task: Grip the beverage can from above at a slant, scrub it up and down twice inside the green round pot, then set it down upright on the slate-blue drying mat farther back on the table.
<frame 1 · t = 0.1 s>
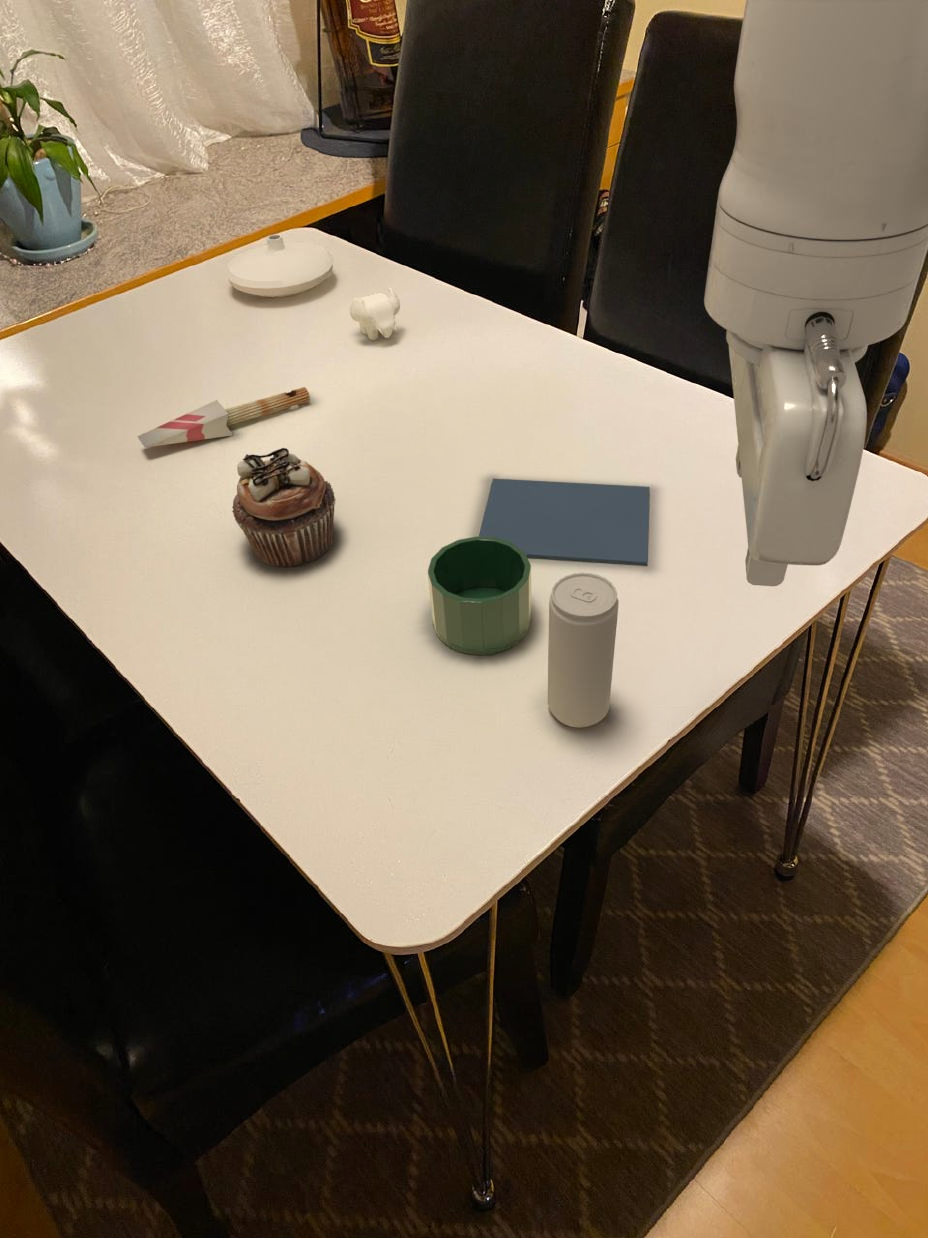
hand: (756, 521, 49), 23 cm above the table, tool pointing down, fingers open, 8 cm apart
beverage can: (577, 709, 70), on the table
drying mat: (565, 520, 88), on the table
vase: (283, 286, 133), on the table
cupcake: (293, 543, 88), on the table
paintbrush: (230, 428, 104), on the table
green round pot: (481, 620, 78), on the table
elephant figurine: (378, 336, 119), on the table
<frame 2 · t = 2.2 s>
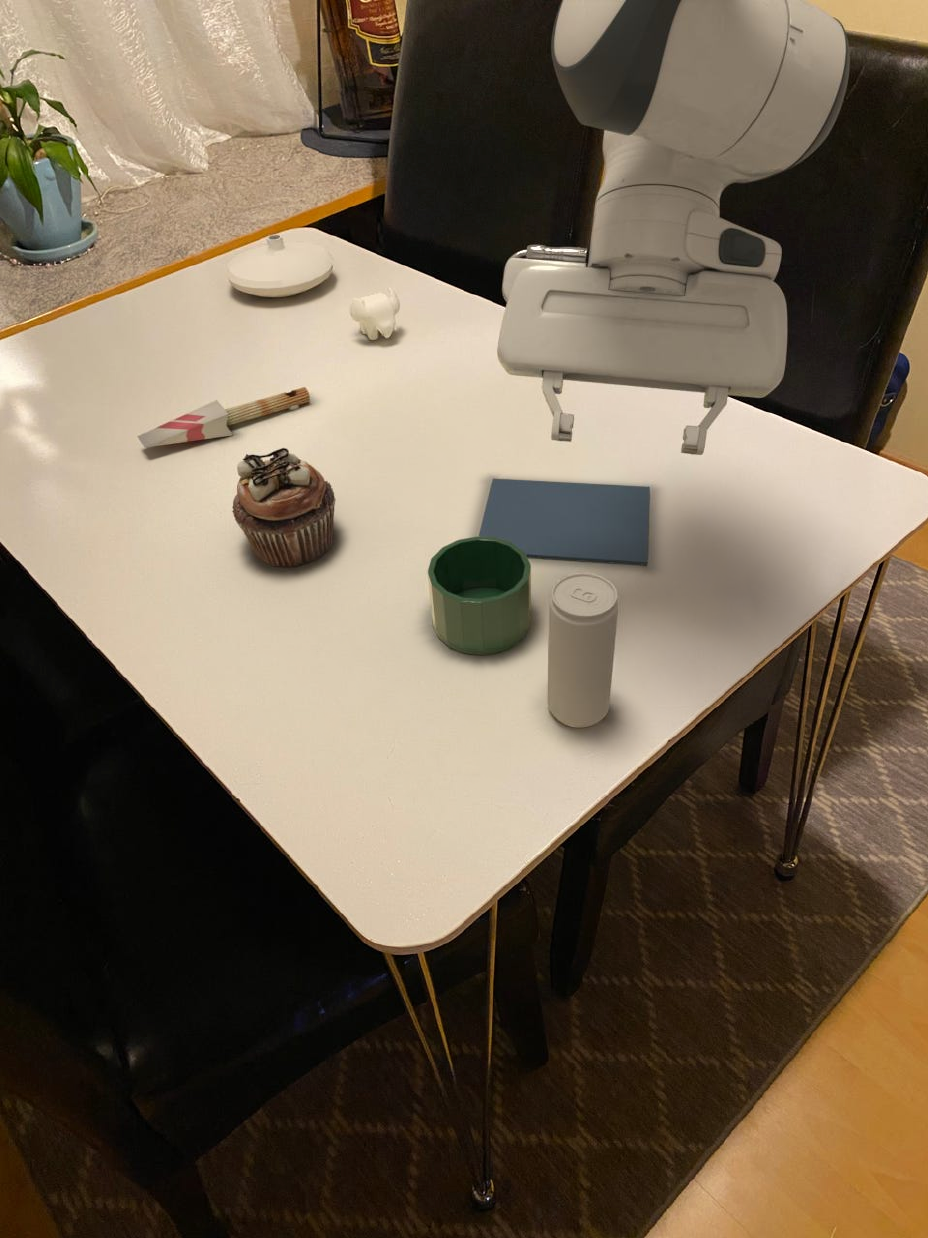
hand: (626, 446, 65), 18 cm above the table, tool tilted 40°, fingers open, 8 cm apart
nothing on the table moved.
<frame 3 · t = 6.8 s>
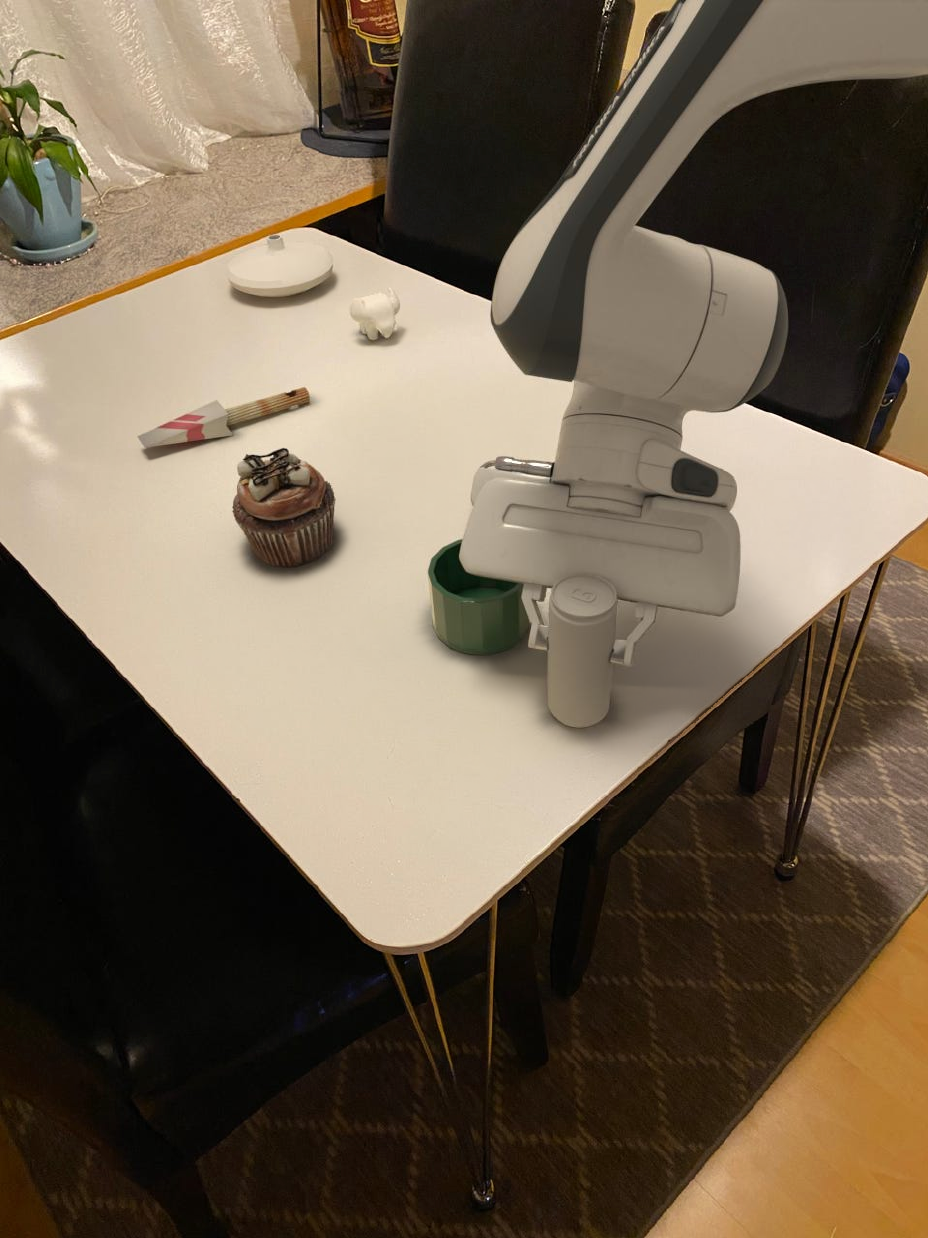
hand: (579, 657, 66), 6 cm above the table, tool tilted 45°, fingers closed on beverage can, 5 cm apart
beverage can: (577, 709, 70), on the table, touching gripper
everything else where it was.
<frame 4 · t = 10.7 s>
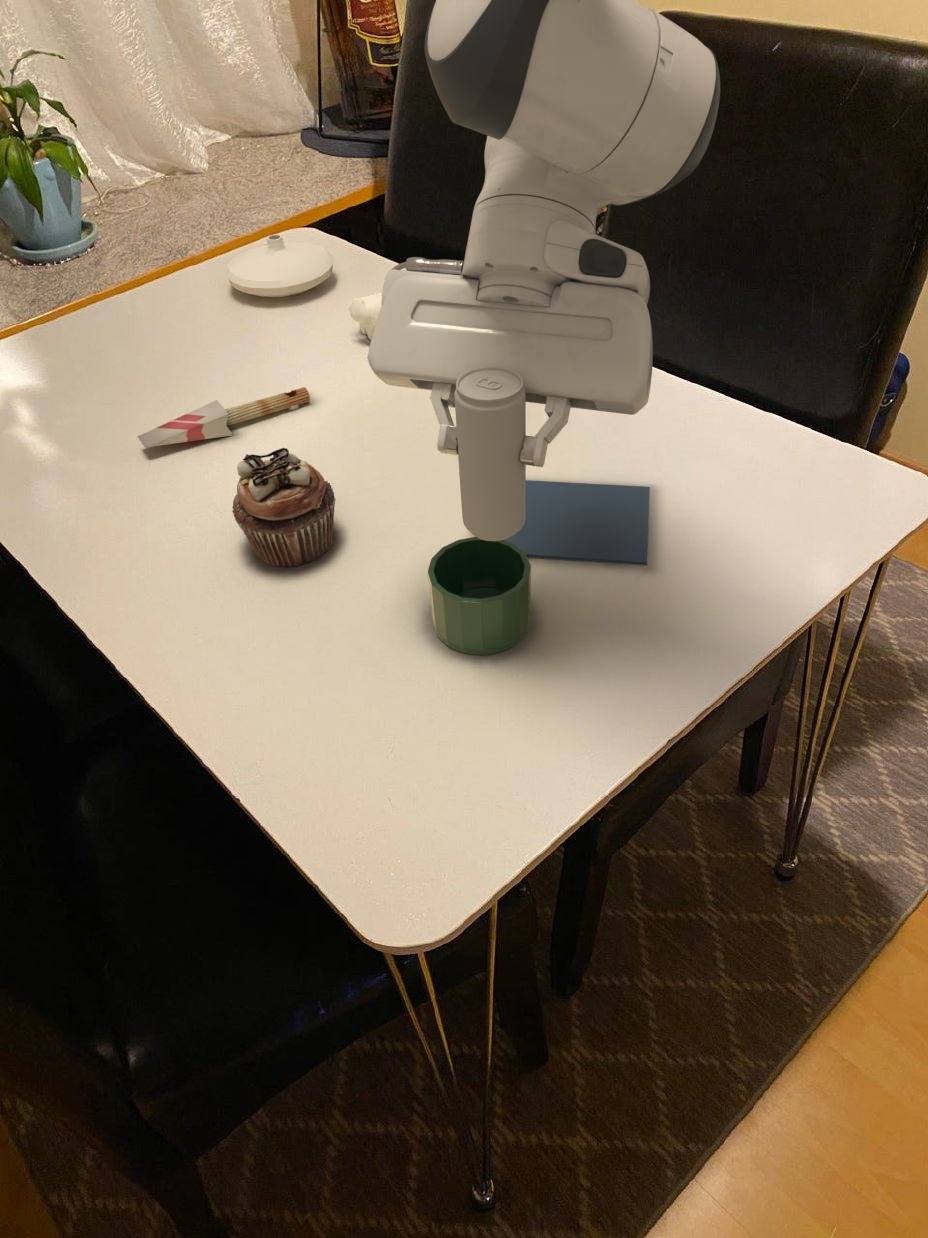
hand: (490, 458, 64), 18 cm above the table, tool tilted 45°, fingers closed on beverage can, 5 cm apart
beverage can: (494, 526, 69), point 12 cm above the table, touching gripper
everything else where it was.
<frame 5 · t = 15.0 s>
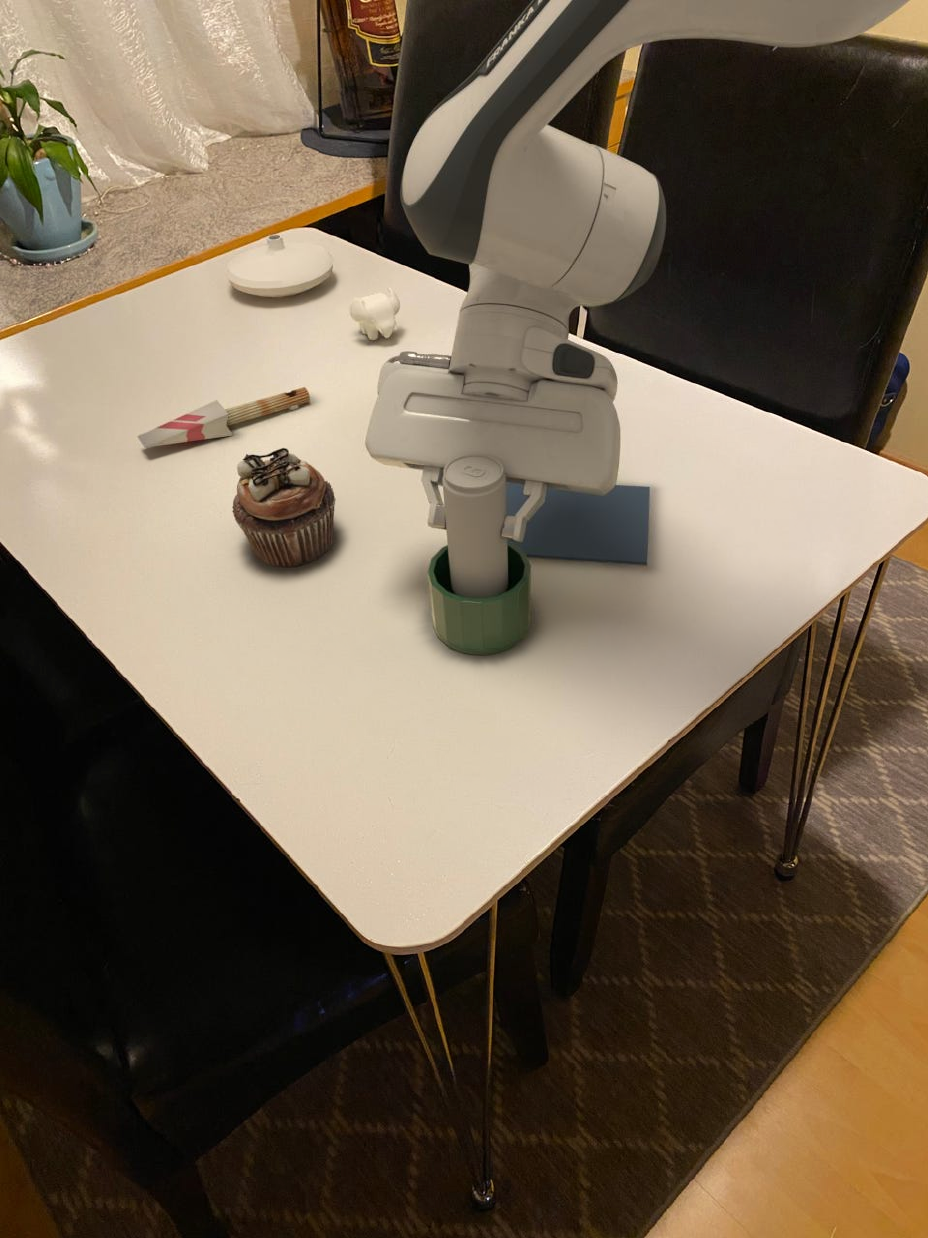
hand: (475, 534, 71), 10 cm above the table, tool tilted 45°, fingers closed on beverage can, 5 cm apart
beverage can: (479, 591, 76), point 3 cm above the table, touching gripper
everything else where it was.
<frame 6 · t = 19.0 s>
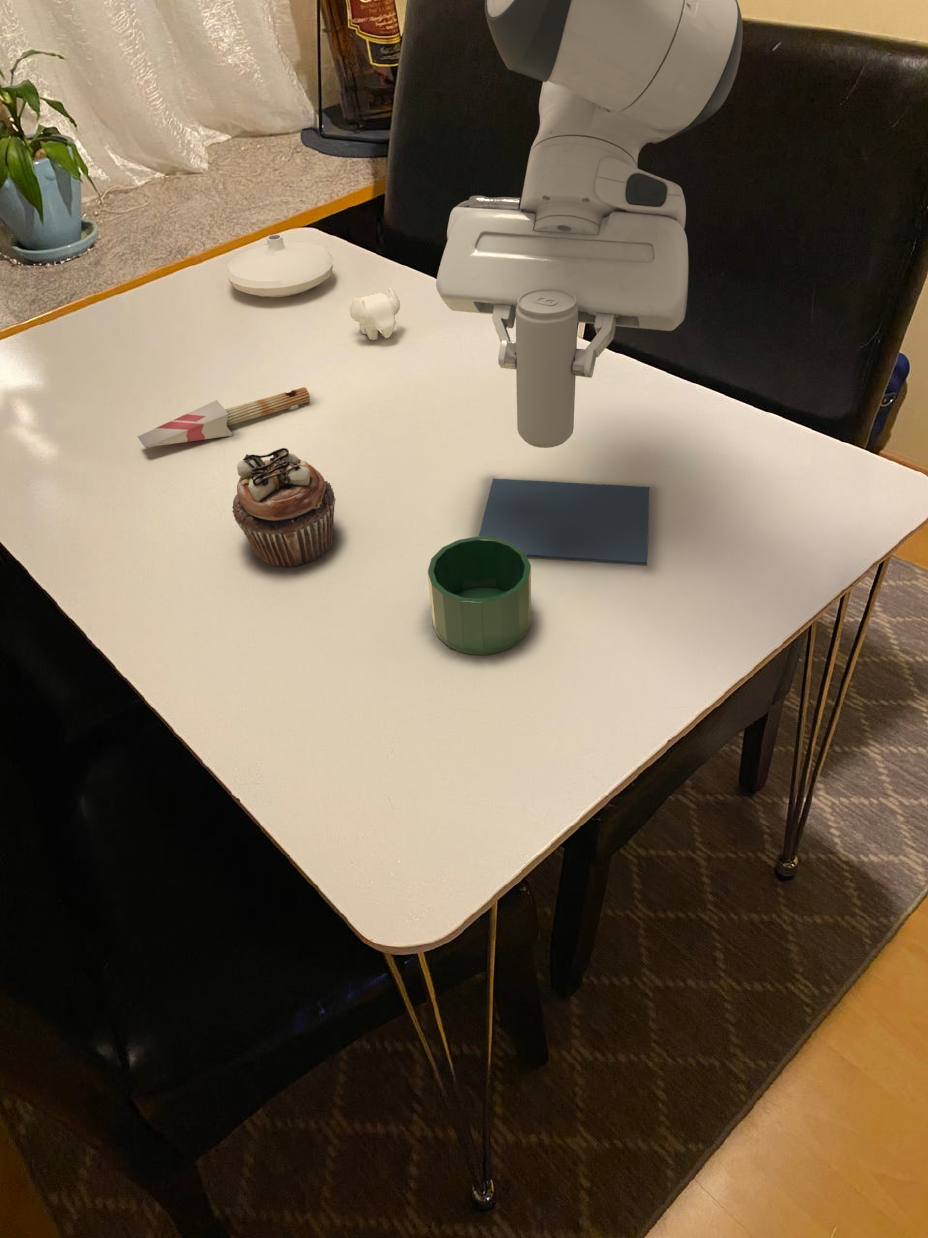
hand: (545, 370, 72), 18 cm above the table, tool tilted 45°, fingers closed on beverage can, 5 cm apart
beverage can: (545, 437, 77), point 12 cm above the table, touching gripper
everything else where it was.
when the fingers open (7 cm above the table, at t = 23.1 s): beverage can stays where it is, resting on drying mat.
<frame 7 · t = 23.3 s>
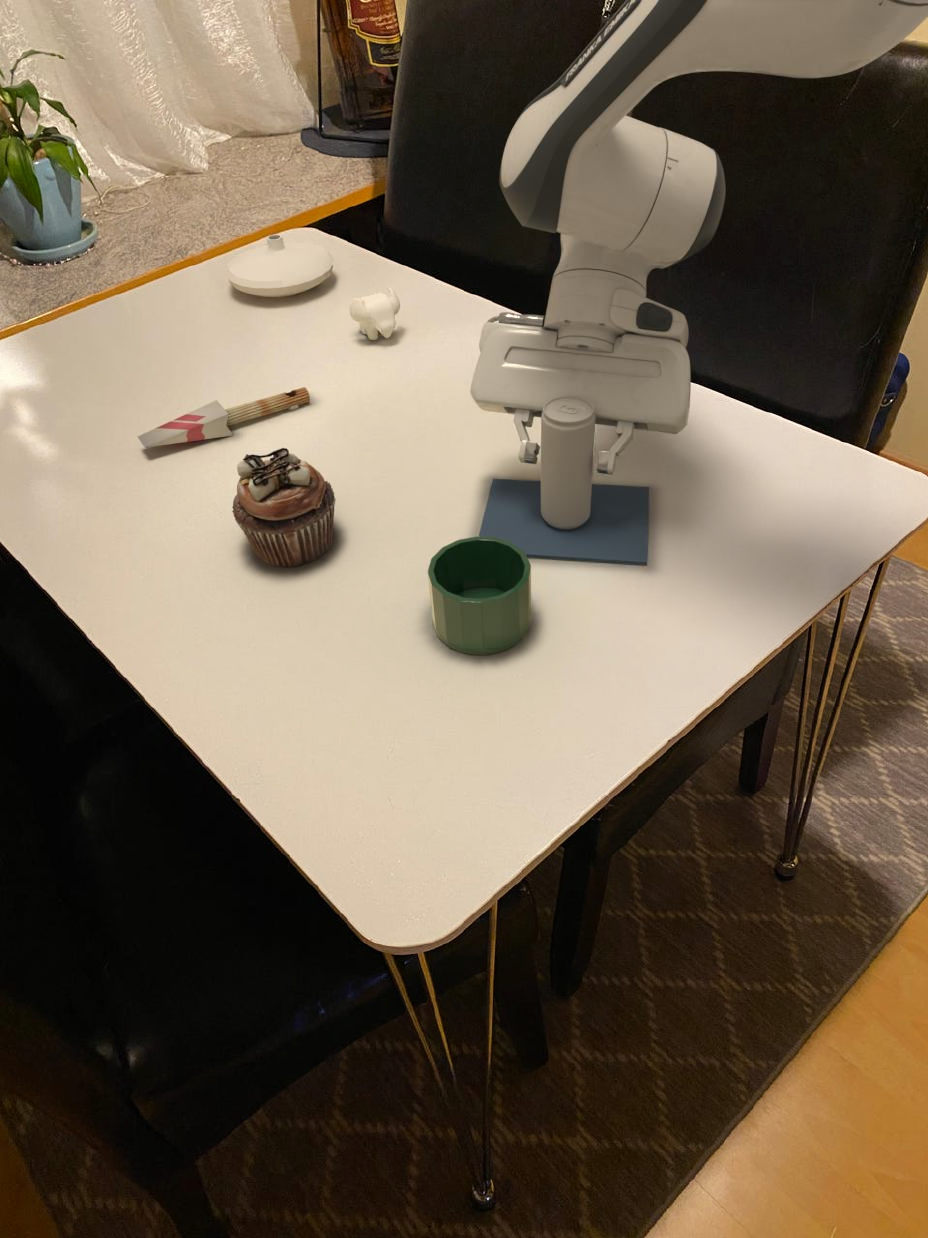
hand: (565, 467, 83), 7 cm above the table, tool tilted 45°, fingers open, 6 cm apart
beverage can: (565, 518, 88), resting on drying mat
everything else where it was.
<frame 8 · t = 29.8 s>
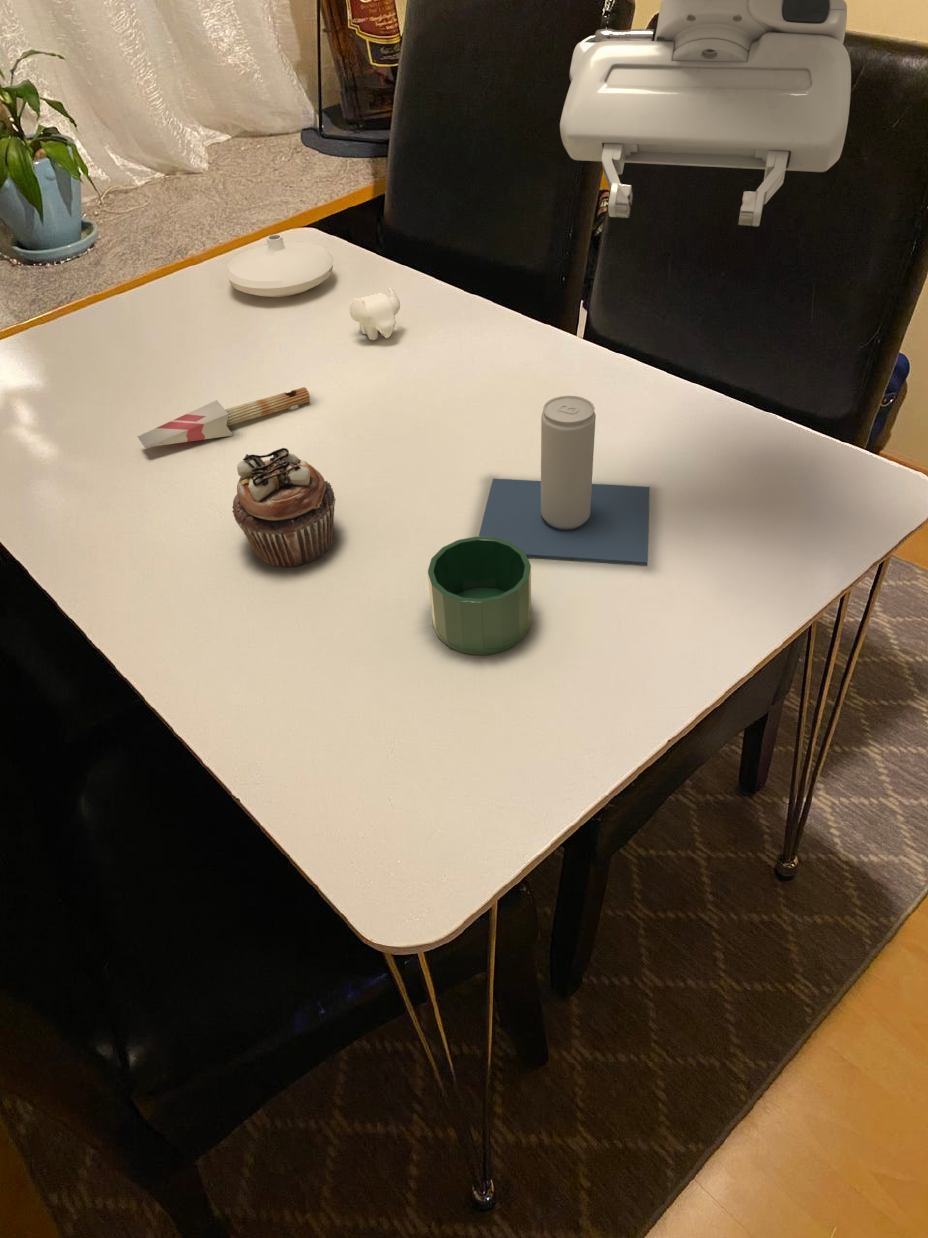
hand: (682, 217, 65), 29 cm above the table, tool tilted 45°, fingers open, 8 cm apart
nothing on the table moved.
at the end: beverage can inside the target area on the drying mat (0.0 cm from its centre), point 0.2 cm above the drying mat's base; beverage can tilted 0°; the gripper is holding nothing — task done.
